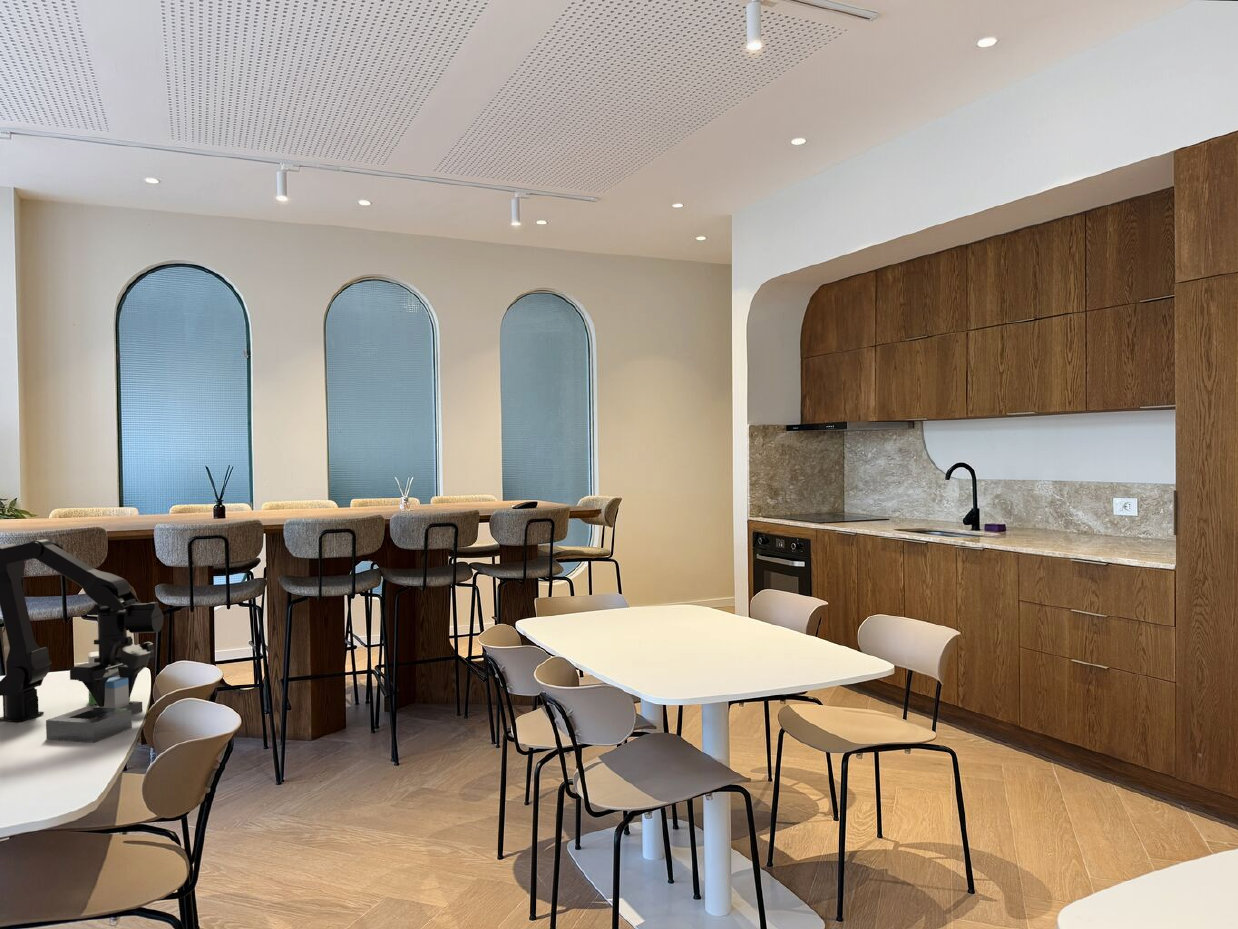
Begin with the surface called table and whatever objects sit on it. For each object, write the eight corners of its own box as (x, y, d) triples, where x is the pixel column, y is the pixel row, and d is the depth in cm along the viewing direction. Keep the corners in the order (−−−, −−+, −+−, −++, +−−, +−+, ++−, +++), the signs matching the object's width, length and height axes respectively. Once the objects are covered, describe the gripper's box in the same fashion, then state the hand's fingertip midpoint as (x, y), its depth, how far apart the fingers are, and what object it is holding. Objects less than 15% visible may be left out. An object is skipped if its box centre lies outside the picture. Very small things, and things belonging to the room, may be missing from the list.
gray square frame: (86, 718, 200) (86, 709, 200) (114, 708, 208) (114, 700, 208) (115, 720, 198) (115, 711, 198) (142, 710, 206) (142, 701, 206)
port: (46, 739, 185) (45, 718, 185) (86, 725, 195) (85, 705, 195) (94, 742, 182) (93, 721, 182) (131, 727, 192) (131, 707, 192)
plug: (100, 716, 201) (99, 681, 201) (114, 711, 205) (113, 677, 205) (115, 717, 200) (114, 682, 200) (129, 712, 204) (128, 677, 204)
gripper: (109, 643, 192) (111, 715, 192) (172, 626, 210) (174, 692, 210) (66, 642, 194) (68, 713, 195) (132, 625, 212) (134, 690, 213)
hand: (114, 702), depth 203 cm, fingers open, 7 cm apart
